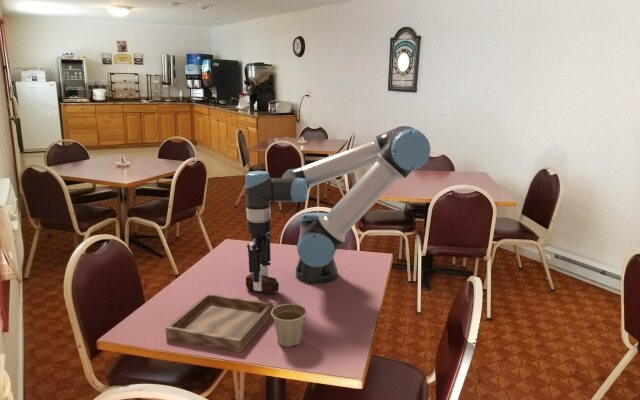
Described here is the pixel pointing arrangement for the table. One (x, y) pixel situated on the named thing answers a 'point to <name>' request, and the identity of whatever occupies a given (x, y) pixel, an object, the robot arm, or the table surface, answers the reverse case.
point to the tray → (220, 322)
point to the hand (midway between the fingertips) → (261, 286)
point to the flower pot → (289, 323)
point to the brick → (263, 284)
